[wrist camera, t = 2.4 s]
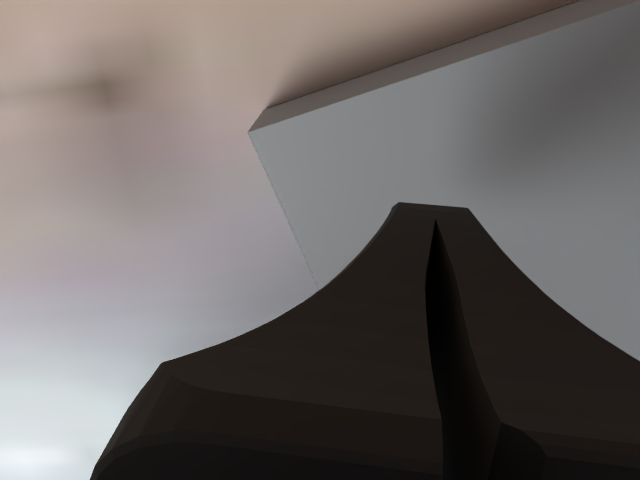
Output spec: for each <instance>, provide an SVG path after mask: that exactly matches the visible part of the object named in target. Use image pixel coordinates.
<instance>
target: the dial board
mask: <svg viewBox="0 0 640 480" xmlns="http://www.w3.org/2000/svg"><path fill="white" fill-rule="evenodd" d="M248 135H249V137H250V139H251V141H252V144H253V146H254V148H255V150H256V152H257V155H258V157H259V159H260V161H261V163H262V166H263V168H264V170H265V172H266V174H267V177H268V179H269V181H270V183H271V185H272V188H273V190H274V192H275V194H276V196H277V199H278V201H279V203H280V205H281V208H282V210H283V212H284V214H285V216H286V219H287V221H288V223H289V225H290V227H291V230H292V232H293V234H294V236H295V238H296V241H297V243H298V245H299V247H300V249H301V252H302V254H303V256H304V258H305V261H306V263H307V265H308V267H309V269H310V272H311V274H312V276H313V278H314V280H315V283H316V285H317V287H318V289H319V290H320V289H322V288H323V287H324V286H325V285H326V284H328V283H329V282H330V281H331V280H332V279H334V278H335V277H336V276H337V275H338V274H339V273H340V272H341V271H342V270H343V269H344V268H345V267H346V266H347V265H348V264H349V263H350V262H351V261H352V260H353V259H354V258H355V257H356V256H357V255H358V254H359V253H360V252H361V251H362V250H363V249H364V247H365V246H366V245H367V244H368V243H369V241H370V240H371V239H372V238H373V236H374V235H375V234H376V233H377V231H378V230H379V229H380V227H381V226H382V224H383V223H384V222H385V220H386V218H387V217H388V215H389V213H390V211H391V209H392V207H393V206H394V205H396V204H397V203H398V202H406V203H417V204H429V205H441V206H453V207H465V208H469V210H470V211H471V212H472V213H473V215H474V216H475V217H476V218H477V220H478V221H479V222H480V223H481V225H482V226H483V227H484V228H485V230H486V231H487V232H488V234H489V235H490V236H491V237H492V238H493V240H494V241H495V242H496V243H497V245H498V246H499V247H500V248H501V249H502V250H503V252H504V253H505V254H506V255H507V256H508V257H509V258H510V259H511V260H512V262H513V263H514V264H515V265H516V266H517V267H518V268H519V269H520V270H521V271H522V272H523V273H524V274H525V275H526V276H527V277H528V278H529V279H530V280H531V281H532V282H533V283H535V284H536V285H537V286H538V287H539V288H540V289H541V290H542V291H543V292H544V293H545V294H546V295H547V296H549V297H550V298H551V299H552V300H553V301H554V302H556V303H557V304H558V305H559V306H561V307H562V308H563V309H564V310H566V311H567V312H568V313H570V314H571V315H572V316H573V317H575V318H576V319H577V320H579V321H580V322H581V323H582V324H584V325H585V326H586V327H588V328H589V329H591V330H592V331H594V332H595V333H597V334H598V335H599V336H601V337H602V338H604V339H605V340H607V341H609V342H610V343H612V344H613V345H615V346H616V347H618V348H620V349H621V350H623V351H624V352H626V353H627V354H629V355H631V356H632V357H634V358H635V359H637V360H639V361H640V0H581V1H578V2H575V3H572V4H569V5H566V6H563V7H560V8H557V9H555V10H552V11H549V12H546V13H543V14H540V15H537V16H534V17H531V18H528V19H526V20H523V21H520V22H517V23H514V24H511V25H508V26H505V27H502V28H499V29H497V30H494V31H491V32H488V33H485V34H482V35H479V36H476V37H473V38H471V39H468V40H465V41H462V42H459V43H456V44H453V45H450V46H447V47H444V48H442V49H439V50H436V51H433V52H430V53H427V54H424V55H421V56H418V57H415V58H413V59H410V60H407V61H404V62H401V63H398V64H395V65H392V66H389V67H386V68H384V69H381V70H378V71H375V72H372V73H369V74H366V75H363V76H360V77H358V78H355V79H352V80H349V81H346V82H343V83H340V84H337V85H334V86H331V87H329V88H326V89H323V90H320V91H317V92H314V93H311V94H308V95H305V96H302V97H300V98H297V99H294V100H291V101H288V102H285V103H282V104H279V105H276V106H273V107H271V108H268V109H265V110H263V112H262V113H261V114H260V116H259V117H258V119H257V120H256V121H255V123H254V124H253V126H252V127H251V128H250V130H249V131H248Z"/></svg>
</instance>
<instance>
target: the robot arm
mask: <svg viewBox="0 0 640 480" xmlns="http://www.w3.org/2000/svg"><path fill="white" fill-rule="evenodd" d="M90 480H640V361H639V360H637V359H635V358H634V357H632V356H631V355H629V354H627V353H626V352H624V351H623V350H621V349H620V348H618V347H616V346H615V345H613V344H612V343H610V342H609V341H607V340H605V339H604V338H602V337H601V336H599V335H598V334H597V333H595V332H594V331H592V330H591V329H589V328H588V327H586V326H585V325H584V324H582V323H581V322H580V321H579V320H577V319H576V318H575V317H573V316H572V315H571V314H570V313H568V312H567V311H566V310H564V309H563V308H562V307H561V306H559V305H558V304H557V303H556V302H554V301H553V300H552V299H551V298H550V297H549V296H547V295H546V294H545V293H544V292H543V291H542V290H541V289H540V288H539V287H538V286H537V285H536V284H535V283H533V282H532V281H531V280H530V279H529V278H528V277H527V276H526V275H525V274H524V273H523V272H522V271H521V270H520V269H519V268H518V267H517V266H516V265H515V264H514V263H513V262H512V260H511V259H510V258H509V257H508V256H507V255H506V254H505V253H504V252H503V250H502V249H501V248H500V247H499V246H498V245H497V243H496V242H495V241H494V240H493V238H492V237H491V236H490V235H489V234H488V232H487V231H486V230H485V228H484V227H483V226H482V225H481V223H480V222H479V221H478V220H477V218H476V217H475V216H474V215H473V213H472V212H471V211H470V210H469V208H465V207H453V206H441V205H429V204H417V203H406V202H398V203H397V204H396V205H394V206H393V207H392V209H391V211H390V213H389V215H388V217H387V218H386V220H385V222H384V223H383V224H382V226H381V227H380V229H379V230H378V231H377V233H376V234H375V235H374V236H373V238H372V239H371V240H370V241H369V243H368V244H367V245H366V246H365V247H364V249H363V250H362V251H361V252H360V253H359V254H358V255H357V256H356V257H355V258H354V259H353V260H352V261H351V262H350V263H349V264H348V265H347V266H346V267H345V268H344V269H343V270H342V271H341V272H340V273H339V274H338V275H337V276H336V277H335V278H334V279H332V280H331V281H330V282H329V283H328V284H326V285H325V286H324V287H323V288H322V289H320V290H319V291H318V292H316V293H315V294H314V295H312V296H311V297H310V298H308V299H307V300H305V301H304V302H302V303H301V304H299V305H298V306H296V307H294V308H293V309H291V310H289V311H288V312H286V313H284V314H283V315H281V316H279V317H278V318H276V319H274V320H272V321H270V322H268V323H266V324H264V325H262V326H260V327H258V328H256V329H254V330H252V331H249V332H247V333H245V334H242V335H240V336H238V337H236V338H233V339H231V340H228V341H226V342H223V343H221V344H218V345H215V346H212V347H209V348H206V349H203V350H200V351H197V352H194V353H191V354H188V355H185V356H182V357H179V358H176V359H173V360H169V361H166V362H163V363H161V364H160V365H159V367H158V368H157V370H156V371H155V373H154V374H153V375H152V377H151V378H150V380H149V381H148V382H147V383H146V385H145V386H144V387H143V388H142V389H141V391H140V392H139V394H138V395H137V396H136V398H135V399H134V401H133V402H132V404H131V405H130V406H129V408H128V409H127V411H126V413H125V414H124V416H123V418H122V419H121V421H120V423H119V425H118V426H117V428H116V430H115V432H114V434H113V435H112V437H111V439H110V441H109V442H108V444H107V446H106V448H105V449H104V451H103V453H102V455H101V456H100V458H99V460H98V462H97V463H96V465H95V467H94V470H93V473H92V475H91V478H90Z"/></svg>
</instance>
